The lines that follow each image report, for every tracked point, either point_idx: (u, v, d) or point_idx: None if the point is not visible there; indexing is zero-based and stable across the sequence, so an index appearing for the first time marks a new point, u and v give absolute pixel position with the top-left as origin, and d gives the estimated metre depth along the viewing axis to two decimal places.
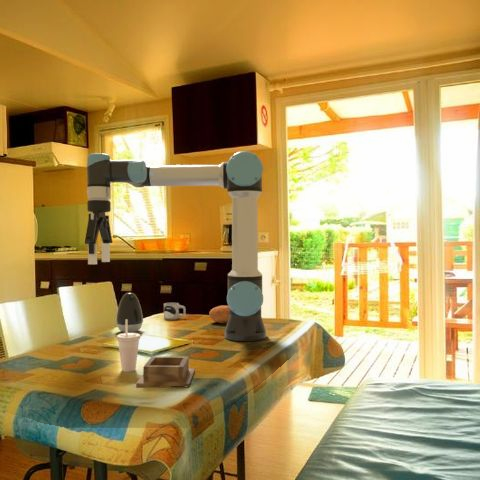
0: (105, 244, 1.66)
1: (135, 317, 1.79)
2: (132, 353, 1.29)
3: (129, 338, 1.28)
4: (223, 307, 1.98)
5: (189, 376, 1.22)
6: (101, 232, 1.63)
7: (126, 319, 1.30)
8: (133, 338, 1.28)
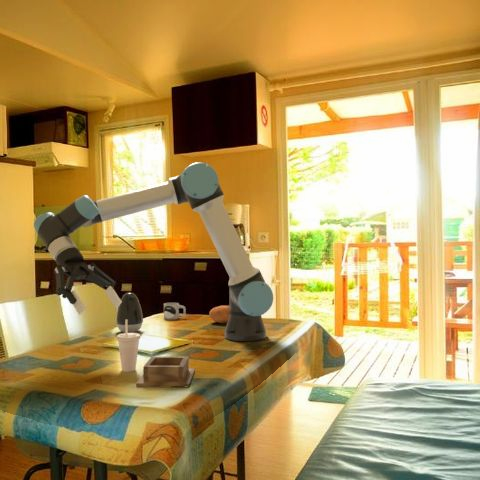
0: (107, 289, 1.44)
1: (135, 317, 1.79)
2: (132, 353, 1.29)
3: (129, 338, 1.28)
4: (223, 307, 1.98)
5: (189, 376, 1.22)
6: (93, 281, 1.43)
7: (126, 319, 1.31)
8: (133, 338, 1.28)
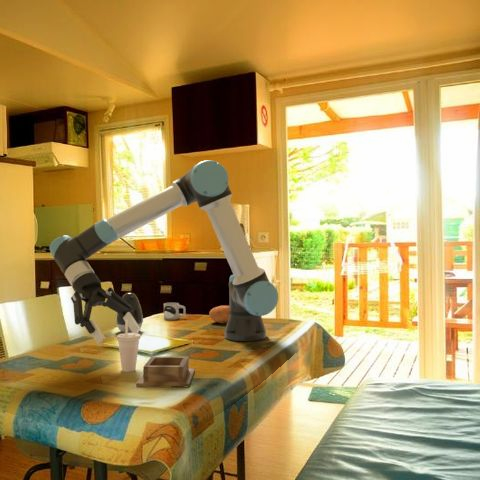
0: (125, 316, 1.39)
1: (135, 317, 1.79)
2: (132, 353, 1.29)
3: (129, 338, 1.28)
4: (223, 307, 1.98)
5: (189, 376, 1.22)
6: (111, 307, 1.39)
7: (126, 319, 1.31)
8: (133, 338, 1.28)
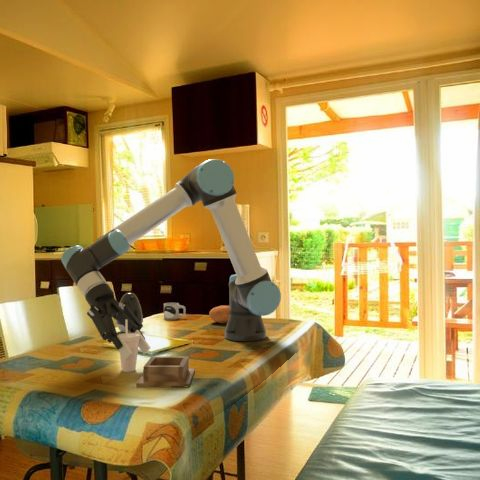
0: None
1: None
2: (132, 352, 1.29)
3: (129, 338, 1.28)
4: (223, 307, 1.98)
5: (189, 376, 1.22)
6: (121, 322, 1.35)
7: (126, 319, 1.30)
8: (133, 338, 1.28)
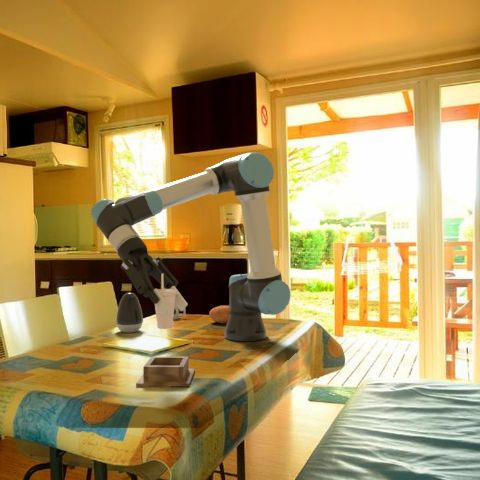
0: None
1: (135, 317, 1.79)
2: None
3: (166, 292, 1.19)
4: (223, 307, 1.98)
5: (189, 376, 1.22)
6: (156, 278, 1.27)
7: None
8: (170, 293, 1.20)
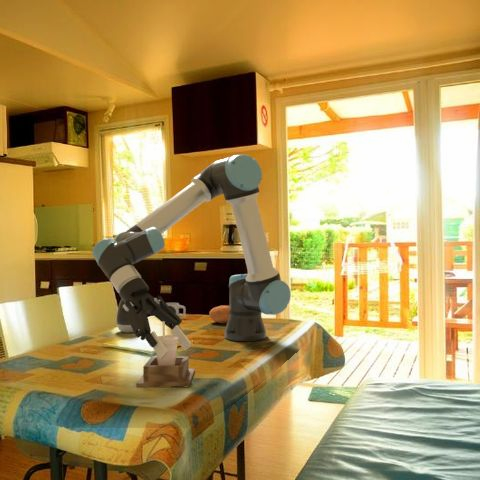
0: (174, 329, 1.26)
1: None
2: (171, 357, 1.20)
3: (168, 341, 1.19)
4: (223, 307, 1.98)
5: (189, 376, 1.22)
6: (159, 318, 1.27)
7: (163, 321, 1.22)
8: (172, 341, 1.20)
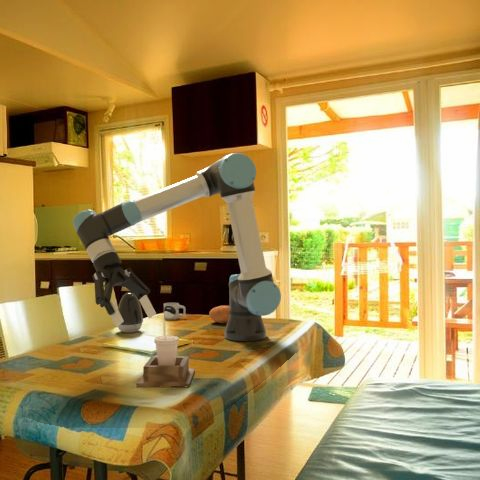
0: (142, 298, 1.40)
1: (135, 317, 1.79)
2: (171, 357, 1.20)
3: (168, 341, 1.19)
4: (223, 307, 1.98)
5: (189, 376, 1.22)
6: (129, 288, 1.40)
7: (164, 321, 1.22)
8: (172, 341, 1.20)
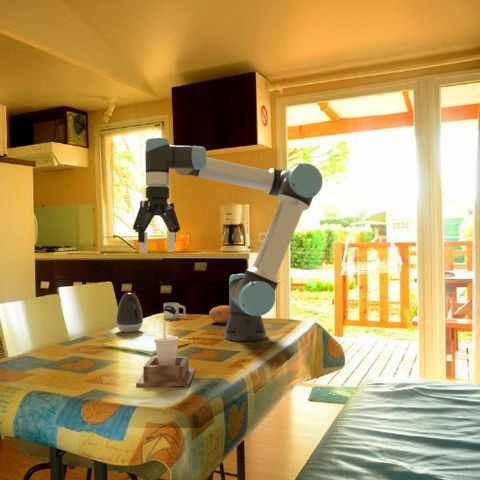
0: (170, 233, 1.58)
1: (135, 317, 1.79)
2: (171, 357, 1.20)
3: (168, 341, 1.19)
4: (223, 307, 1.98)
5: (189, 376, 1.22)
6: (164, 220, 1.56)
7: (164, 321, 1.22)
8: (172, 341, 1.20)
